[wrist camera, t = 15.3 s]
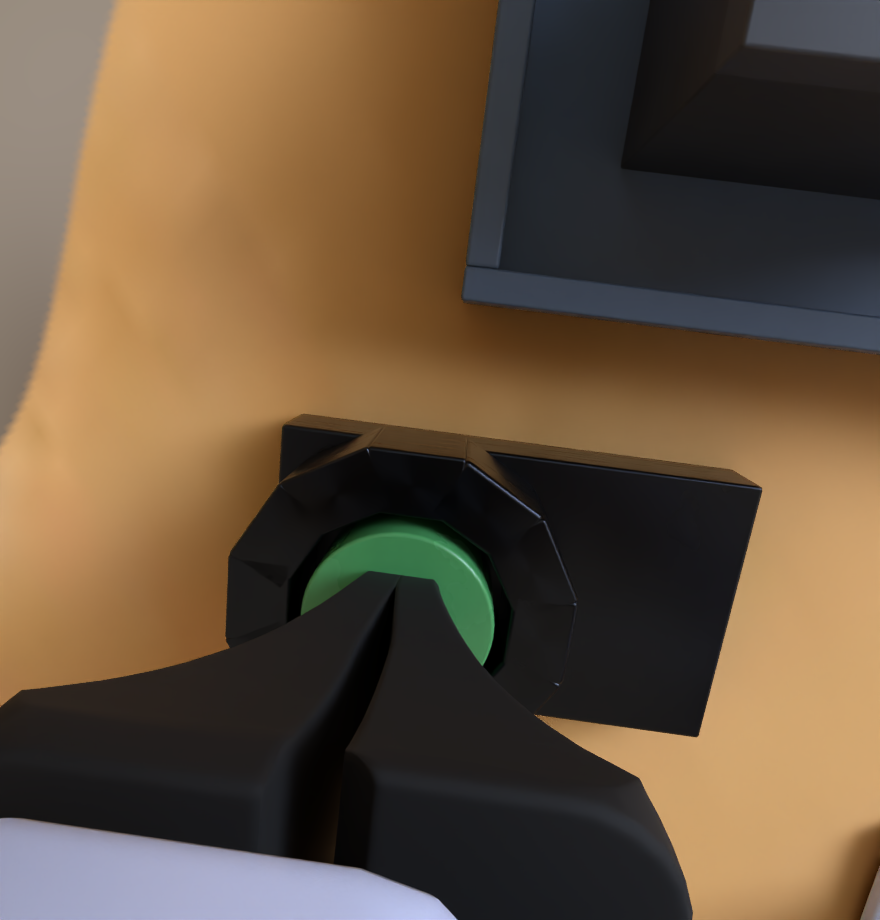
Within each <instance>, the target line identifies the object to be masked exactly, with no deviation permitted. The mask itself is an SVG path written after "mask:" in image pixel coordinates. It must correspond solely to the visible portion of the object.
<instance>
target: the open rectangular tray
mask: <svg viewBox="0 0 880 920" xmlns="http://www.w3.org/2000/svg"><path fill="white" fill-rule="evenodd" d="M649 5H650V0H499V2H498V10H497V18H496V26H495V33H494V41H493V49H492V57H491V65H490V73H489V81H488V89H487V97H486V105H485V113H484V121H483V129H482V137H481V144H480V152H479V160H478V168H477V176H476V184H475V192H474V200H473V208H472V216H471V224H470V232H469V240H468V248H467V256H466V268H465V271H464V279H463V287H462V295H461V298H462V300H463V302H464V303H470V304H478V305H486V306H494V307H502V308H510V309H518V310H526V311H534V312H542V313H549V314H557V315H565V316H573V317H581V318H589V319H597V320H605V321H613V322H621V323H629V324H637V325H645V326H653V327H661V328H669V329H677V330H685V331H693V332H701V333H709V334H717V335H725V336H733V337H741V338H749V339H757V340H765V341H773V342H781V343H789V344H797V345H805V346H813V347H821V348H829V349H837V350H845V351H853V352H861V353H869V354H876V355H880V200H878V199H870V198H862V197H853V196H845V195H837V194H828V193H820V192H812V191H803V190H795V189H787V188H778V187H770V186H762V185H753V184H745V183H737V182H728V181H720V180H712V179H704V178H695V177H687V176H679V175H670V174H662V173H654V172H645V171H637V170H629V169H622V168H621V161H622V156H623V150H624V145H625V139H626V133H627V128H628V122H629V117H630V111H631V105H632V100H633V94H634V89H635V83H636V77H637V72H638V66H639V61H640V55H641V49H642V44H643V38H644V33H645V27H646V21H647V16H648V10H649Z"/></svg>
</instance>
